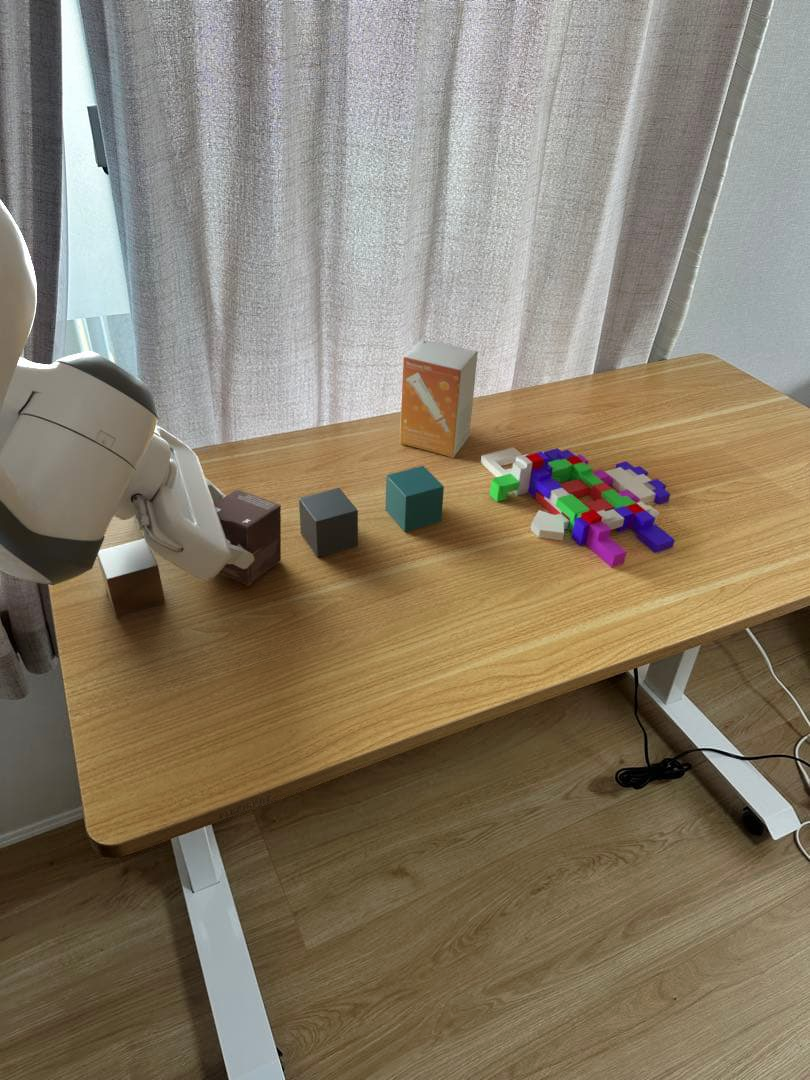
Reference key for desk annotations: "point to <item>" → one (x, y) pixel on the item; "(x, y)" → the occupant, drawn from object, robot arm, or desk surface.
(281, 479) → the desk surface
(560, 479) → the building block set
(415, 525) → the teal block
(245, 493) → the box
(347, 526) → the slate block
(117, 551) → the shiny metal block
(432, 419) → the small box
